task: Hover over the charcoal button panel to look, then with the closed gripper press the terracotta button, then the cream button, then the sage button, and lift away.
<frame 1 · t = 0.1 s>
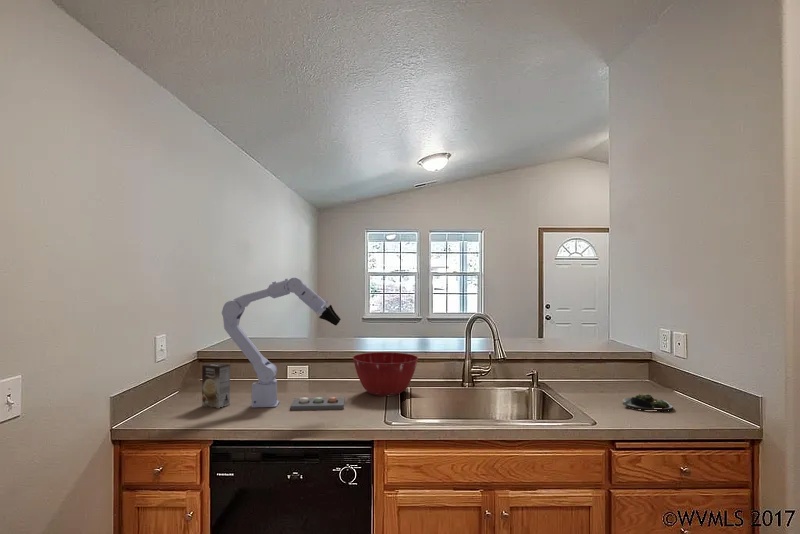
hand: (338, 322, 205), 32 cm above the worktop, tool tilted 50°, fingers open, 7 cm apart
mixing bowl: (385, 393, 223), on the worktop
coffee box: (216, 406, 202), on the worktop
cream button: (304, 400, 201), point 2 cm above the worktop, slide at 0.0 cm
terracotta button: (332, 400, 202), point 2 cm above the worktop, slide at 0.0 cm
sage button: (318, 400, 202), point 2 cm above the worktop, slide at 0.0 cm
button panel: (318, 405, 202), on the worktop
salad plate: (646, 407, 199), on the worktop
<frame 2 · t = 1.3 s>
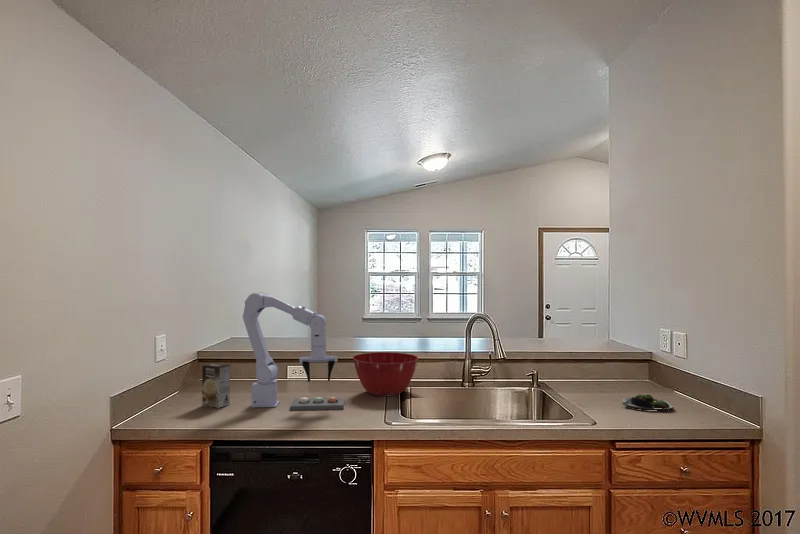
hand: (318, 380, 202), 10 cm above the worktop, tool pointing down, fingers open, 7 cm apart
nothing on the worktop moved.
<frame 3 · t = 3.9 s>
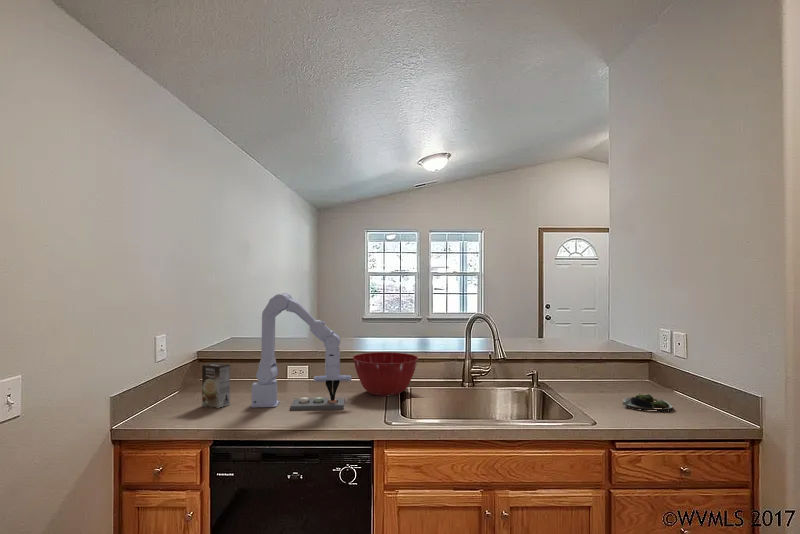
hand: (332, 399, 202), 2 cm above the worktop, tool pointing down, fingers closed, pressing on terracotta button
terracotta button: (332, 402, 202), point 1 cm above the worktop, slide at 0.8 cm, touching gripper
everything else where it was.
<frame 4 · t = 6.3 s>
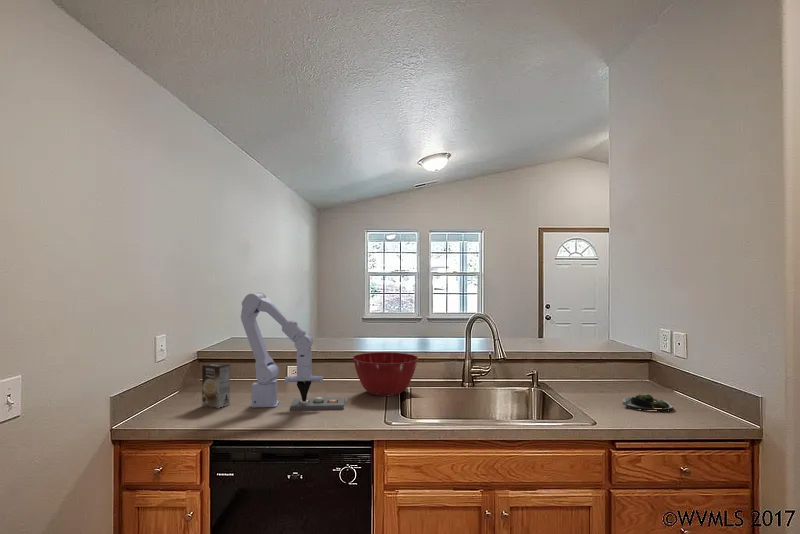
hand: (304, 400, 201), 2 cm above the worktop, tool pointing down, fingers closed, pressing on cream button
cream button: (304, 402, 201), point 1 cm above the worktop, slide at 0.9 cm, touching gripper
terracotta button: (332, 402, 202), point 1 cm above the worktop, slide at 1.1 cm
everything else where it was.
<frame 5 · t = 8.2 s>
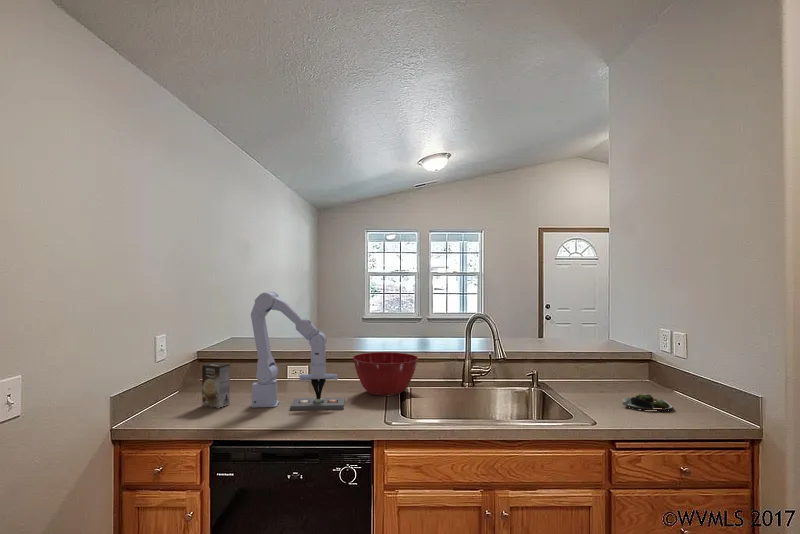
hand: (318, 398, 202), 3 cm above the worktop, tool pointing down, fingers closed, pressing on sage button
cream button: (304, 403, 201), point 1 cm above the worktop, slide at 1.1 cm
sage button: (318, 400, 202), point 2 cm above the worktop, slide at 0.2 cm, touching gripper
everything else where it was.
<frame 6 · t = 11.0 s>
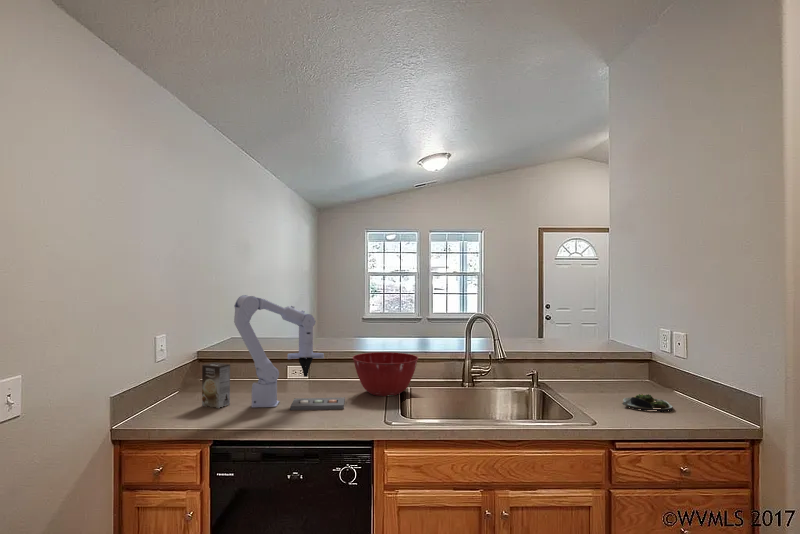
hand: (305, 376, 212), 9 cm above the worktop, tool pointing down, fingers closed
sage button: (318, 403, 202), point 1 cm above the worktop, slide at 1.1 cm
everything else where it was.
at the end: terracotta button slide at 1.1 cm; cream button slide at 1.1 cm; sage button slide at 1.1 cm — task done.
